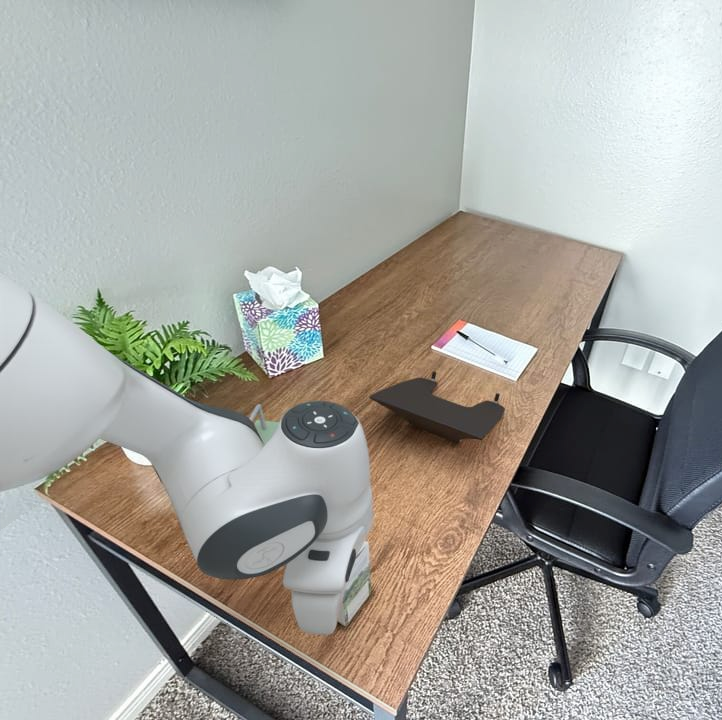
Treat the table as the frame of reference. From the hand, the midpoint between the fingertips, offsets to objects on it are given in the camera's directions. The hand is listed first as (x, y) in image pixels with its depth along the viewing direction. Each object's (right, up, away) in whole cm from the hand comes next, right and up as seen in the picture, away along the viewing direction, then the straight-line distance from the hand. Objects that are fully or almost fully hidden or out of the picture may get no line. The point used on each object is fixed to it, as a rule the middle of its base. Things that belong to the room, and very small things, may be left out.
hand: (344, 570), depth 63 cm
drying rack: (-19, +10, +23) cm, 32 cm away
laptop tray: (+11, +16, +35) cm, 40 cm away
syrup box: (-1, -7, +5) cm, 8 cm away
